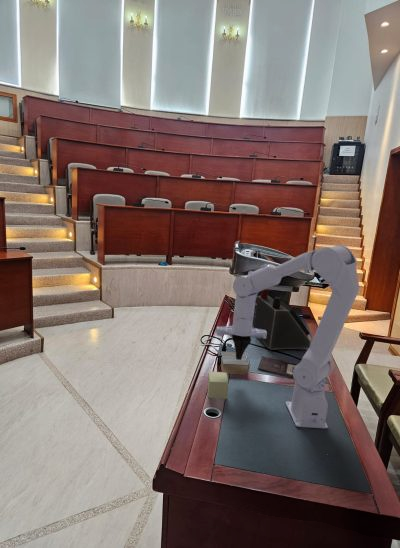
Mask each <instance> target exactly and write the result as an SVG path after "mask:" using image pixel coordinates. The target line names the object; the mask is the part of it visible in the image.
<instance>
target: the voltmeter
mask: <svg viewBox="0 0 400 548" xmlns="http://www.w3.org/2000/svg"><path fill="white" fill-rule="evenodd" d="M260 292H261V293H260V295H257V298H256V304H255V311H254V319H253V326H252V328H256V329H261V330H266V332H267V336H266V339H264V338H262V337H258V338H259V339H260V340H261V342H263V344H264V346H266V347H267V348H268V350H269V349H271V350H285V349H286V350H288V349H289V350H290V349H292V350H293V349H298V350H299V351H304V350H305V349H309V348H310V346H311V343H312V341H311V340H310V338H309V337H308V336H309V335H310V334H311V333H310V331H309V330H308V328H307V327H306V325H305V324H304V323H303V321H302V320H301V318H300V316H299V315H298V314H297V313H296V312H295V310H294V309H293V308H292V307H291V306H289V305H287V303H285V302H284V301H282V300H281V299H282V297H280V296H274V297H273V298H272V297H271V296H269V288H267V289H264V290H262V291H260ZM271 350H270V351H271Z"/></svg>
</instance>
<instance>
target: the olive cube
mask: <svg viewBox="0 0 400 548" xmlns="http://www.w3.org/2000/svg"><path fill="white" fill-rule="evenodd" d="M207 377H208V378H207V387H206V388H207V398H209V399H224V400H225V399H227V397H228V391H229V390H228V389H229V378H228V373H223V372H222V371H208V376H207Z"/></svg>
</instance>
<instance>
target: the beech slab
mask: <svg viewBox="0 0 400 548" xmlns="http://www.w3.org/2000/svg"><path fill="white" fill-rule="evenodd" d="M220 353H221V355H222V357H221V364H220V368H221V372H223V373H227V374H233V375H235V374H237V375H248V373H249V367H250V365H249V362H248V358H247V355H246V353H245V352H244V353H243V356H242V358H241V360H237V359H236V351H235V352H234V351H233V352H232V351H220Z"/></svg>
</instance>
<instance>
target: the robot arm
mask: <svg viewBox="0 0 400 548" xmlns="http://www.w3.org/2000/svg"><path fill="white" fill-rule="evenodd" d="M357 261H358V260H357V258H356V256H355V255H354V254H353V252H352V250H351V249H349V247H347V246H345V245H342V244H338V245H334V246H330V247H329V246H324V247H320V248H318V249H314V250H311V251H306V252H304V253H302V254H299V255H297V256H295V257H293V258H292V259H289V260H287V261H285V262H283V263H281V264H279V265H277V266H276V265H274V264H271V263H270V264H268V263H264V264H262V265H261V266H260V268H258V269H255V270H254V271H253V270H250V271H248V272H247V275H238V277H236V278H235V279H234V281H233V283H232V284H233V285H232V288H233V292H234V293H235V301H234V309H233V316H232V325H229V326H228V325H227V326H216V336H231V338H232V341H233V344H234V349H235V352H236V359H237V360H241V358H242V356H243V353H245V351H246V350H247V348H248V347H249V346H250V344H251V342H252V339H251V338H253V337H254V338H259V337H262V338H264V339H266V336H267V332H266V330H261V329H256V328H253V325H254V318H255V310H256V302H257V297H258V294H259V293H260V292H262V290H264V289H269V288H271V287H274V286H275V287H276V286H277V285H279V284H280V283H281V280H282V278H283V277H286V276H289V275H293V274H294V273H297V272H300V271H303V270H308V271H311V272H312V271H315V273H317V274H318V276H320V277H321V278H322V279H323V280H324V281H325V282H326V283H327V285H328V286H329V288H330V289H331V291H332V292H331V294H330V297H329V298H328V302H327V304H326V306H325V309H324V311H323V313H322V316H321V319H320V322H319V323H318V326H317V329H316V332H315V334H314V335H313V338H312V341H311V344H310V348H307V349H308V350H307V351H306V352H305V353H304V355H303V356H302V358H301V361H300V362H299V363H297V364H298V365H296V366H295V367H294V369H293V377H294V378H293V379H294V381H295V382H294V387H293V393H292V398H291V401H285V405H286V407H287V410H288V411H289V414H290V416H291V418H292V421H293V422H294V425H295V427H298V428H310V429H311V428H314V429H328V427H329V426H328V424H327V423H326V420H327V419H326V418H327V414H328V409H329V404H328V401H327V399H326V395H325V391H326V390H325V389H326V377H328V376H329V375H330V374H331V373H332V359H333V357H334V356H333V354H332V353H333V351H334V348H335V346H336V344H337V342H338V340H339V337H340V335H341V332H342V330H343V328H344V325H346V321H347V319H348V317H349V314H350V312H351V310H352V308H353V305H354V303H355V301H356V298H357V297H358V296H357V295H358V294H359V291H360V282H359V278H358V272H357Z"/></svg>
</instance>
